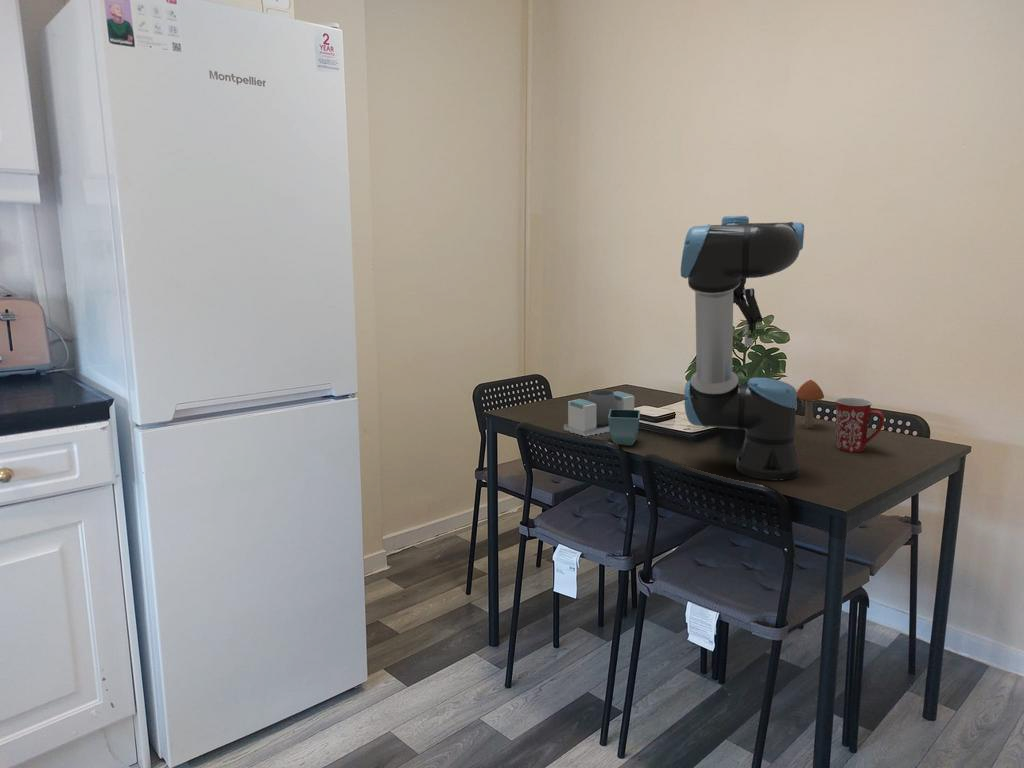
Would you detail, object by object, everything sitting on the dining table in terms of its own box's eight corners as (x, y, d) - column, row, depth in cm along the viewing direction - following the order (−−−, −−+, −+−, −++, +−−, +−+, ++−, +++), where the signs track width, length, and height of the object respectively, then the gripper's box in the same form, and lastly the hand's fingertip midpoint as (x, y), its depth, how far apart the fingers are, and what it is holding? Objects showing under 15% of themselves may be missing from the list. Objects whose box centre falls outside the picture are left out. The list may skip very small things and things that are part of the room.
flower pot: (639, 448, 200) (639, 418, 198) (607, 447, 202) (607, 417, 200) (639, 439, 209) (640, 409, 207) (609, 438, 211) (609, 408, 208)
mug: (825, 448, 197) (829, 401, 194) (840, 441, 202) (844, 395, 199) (872, 459, 187) (877, 409, 184) (886, 451, 193) (891, 403, 190)
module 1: (596, 429, 215) (596, 403, 213) (584, 432, 212) (584, 406, 210) (579, 423, 221) (579, 398, 219) (568, 426, 219) (568, 400, 217)
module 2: (634, 420, 223) (634, 395, 221) (623, 423, 221) (623, 397, 219) (616, 415, 230) (617, 390, 228) (606, 417, 227) (606, 392, 225)
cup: (603, 429, 215) (603, 397, 212) (580, 423, 221) (579, 392, 219) (622, 423, 221) (623, 392, 219) (599, 417, 228) (600, 387, 225)
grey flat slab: (638, 424, 223) (638, 419, 223) (584, 437, 211) (584, 432, 211) (617, 417, 231) (617, 412, 231) (563, 429, 219) (563, 424, 219)
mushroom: (794, 430, 213) (797, 381, 210) (792, 422, 221) (795, 376, 217) (823, 432, 211) (826, 383, 208) (820, 424, 218) (823, 377, 215)
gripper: (778, 271, 197) (773, 346, 202) (708, 267, 217) (705, 336, 222) (760, 273, 193) (756, 350, 198) (691, 269, 213) (688, 338, 218)
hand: (729, 342), depth 210 cm, fingers open, 13 cm apart
